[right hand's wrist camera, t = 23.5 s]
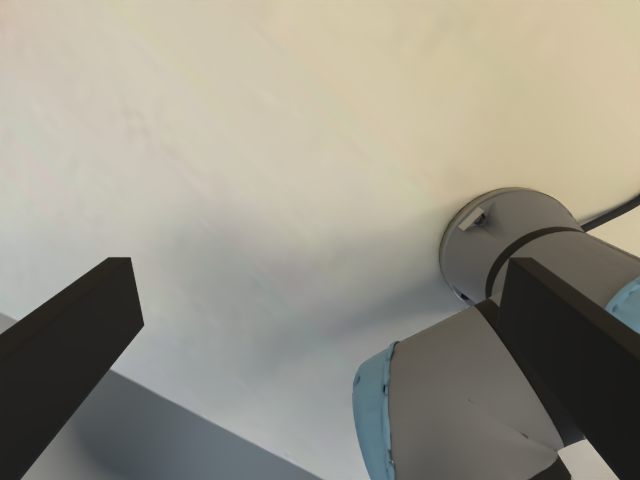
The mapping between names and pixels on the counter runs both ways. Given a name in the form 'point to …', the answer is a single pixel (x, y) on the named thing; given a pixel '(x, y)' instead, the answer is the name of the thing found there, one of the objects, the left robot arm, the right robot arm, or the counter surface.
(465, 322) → the right robot arm
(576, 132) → the counter surface
